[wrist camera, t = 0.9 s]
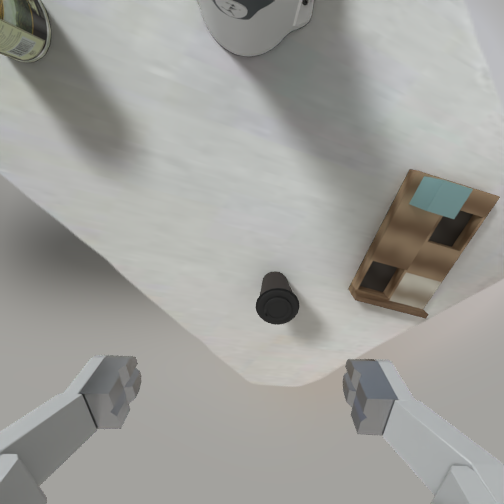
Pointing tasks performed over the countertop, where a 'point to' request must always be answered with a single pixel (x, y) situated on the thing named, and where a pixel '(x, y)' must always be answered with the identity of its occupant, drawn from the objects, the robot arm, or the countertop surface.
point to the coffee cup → (276, 300)
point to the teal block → (440, 197)
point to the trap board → (416, 249)
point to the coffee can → (24, 30)
